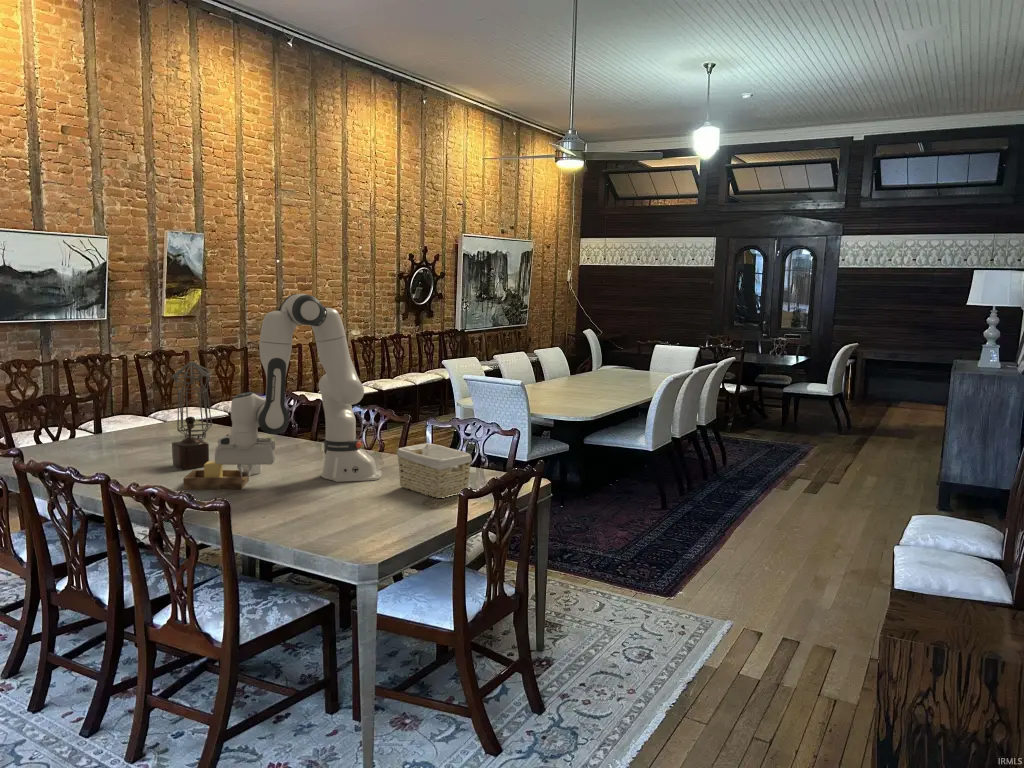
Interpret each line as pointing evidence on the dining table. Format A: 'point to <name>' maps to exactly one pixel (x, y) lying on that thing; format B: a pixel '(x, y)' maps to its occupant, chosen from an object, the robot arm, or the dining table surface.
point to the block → (213, 469)
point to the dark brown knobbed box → (190, 450)
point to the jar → (253, 469)
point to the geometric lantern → (193, 392)
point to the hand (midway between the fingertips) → (245, 476)
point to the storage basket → (433, 469)
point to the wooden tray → (215, 481)
